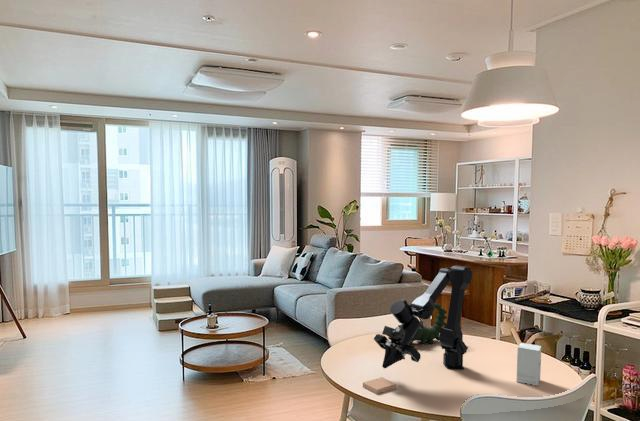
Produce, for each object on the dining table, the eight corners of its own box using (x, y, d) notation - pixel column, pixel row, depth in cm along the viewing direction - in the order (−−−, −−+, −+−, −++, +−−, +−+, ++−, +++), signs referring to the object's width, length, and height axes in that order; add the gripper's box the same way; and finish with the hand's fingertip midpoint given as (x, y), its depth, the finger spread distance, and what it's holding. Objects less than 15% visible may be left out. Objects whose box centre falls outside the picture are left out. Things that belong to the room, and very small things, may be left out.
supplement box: (538, 386, 161) (539, 351, 161) (515, 381, 165) (516, 347, 165) (540, 380, 168) (541, 345, 167) (519, 375, 172) (520, 342, 171)
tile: (382, 377, 163) (362, 382, 158) (396, 383, 157) (376, 389, 152) (381, 382, 163) (362, 388, 158) (395, 389, 157) (376, 395, 152)
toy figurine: (435, 341, 218) (390, 341, 209) (439, 301, 219) (394, 300, 209) (448, 347, 210) (401, 347, 200) (452, 305, 210) (406, 304, 200)
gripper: (378, 311, 169) (354, 346, 163) (415, 323, 154) (390, 362, 147) (393, 330, 173) (370, 364, 167) (431, 343, 158) (407, 381, 152)
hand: (383, 367), depth 158 cm, fingers closed
